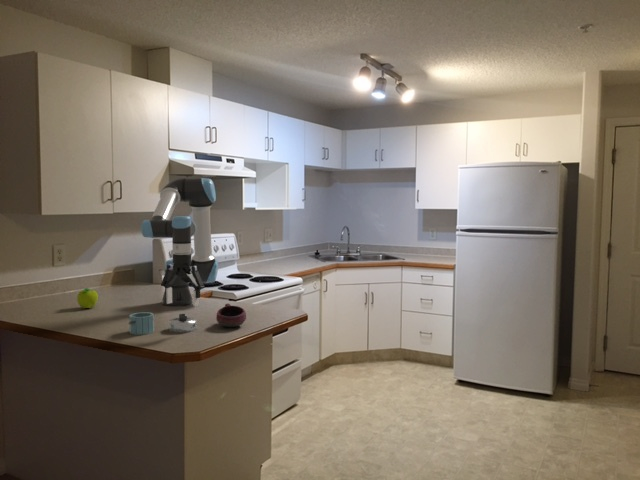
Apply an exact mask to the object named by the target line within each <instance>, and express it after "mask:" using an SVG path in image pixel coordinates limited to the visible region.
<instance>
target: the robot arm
mask: <svg viewBox="0 0 640 480" xmlns="http://www.w3.org/2000/svg"><path fill="white" fill-rule="evenodd" d="M214 183H215V182H214V181H213V180H212V179H211V178H205V177H188V178H183V177H180V178H177V179H174V180H171V181H169V182H168V183H167V184H166V185H165V186H163V188H162V189H161V191H160V194H159V201H158V203H157V205H156V207H155V209H154V212H153V214H152V217H151V218H150V219H144V220H143V221H141V222H142V223H141V226H140V228H141V229H140V230H141V234H142V237H143V238H152V239H153V238H154V239H155V238H160V239H161V238H162V239H163V238H170V239H171V238H172V240H171V241H172V245H171V246H172V253H173V254H172V258H171V259H167V260H166V261H165V263H164V275H163V278H162V281H161V283H160V286H161V287H164V288H165V289H164V292H163V297H162V299H161V304H162V305H164V306H170V307H177V306H179V307H180V306H187V305H191V304H192V305H193V307H197V306H200V298H201V290H204V289H205V285H204V284H210V283H211V284H212V283H215V282H216V281H217V276H218V271H219V260H217V259H216V257H215V255H214V254H213V253H212V252H213V251H212V250H213V249H212V230H211V227H212V226H211V224H212V223H211V208H212V207H213V205H214V203H215V202H216V200H217V196H216V194H217V193H216V188H215V184H214ZM183 202H184V203H188V207H190V208H191V209H192V210H191V211H192V218H191V217H190V216H188V215H187V216H186V215H184V216H183V215H180V216H177V215H176V216H172V215H173V212H174V210H175V209H176V205H178V204H179V203H183ZM171 217H172V219H171ZM191 219H192V220H191ZM192 237H193V246H194V249H193V250H194V255H193V256H192V254H191V253H192ZM190 284H191V286H192V287H193V289H194V290H193V291H192V293H193V297H192V293H191V290H190V286H189V285H190Z"/></svg>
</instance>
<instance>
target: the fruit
mask: <svg viewBox="0 0 640 480" xmlns="http://www.w3.org/2000/svg"><path fill="white" fill-rule="evenodd" d="M98 299H99V294H98V293H97V291H96V290H91V289H90V288H89V287H88V288H87V287H86V288H83V289H82V290H80V291H79V292H78V295H77V299H76V300H77V304H78V305H79V306H80V307H81V308H82V309H85V308H89V309H93V308H94V307H95V306H96V304H97V302H98Z"/></svg>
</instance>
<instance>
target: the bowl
mask: <svg viewBox="0 0 640 480" xmlns="http://www.w3.org/2000/svg"><path fill="white" fill-rule="evenodd" d="M215 319H216V321H217V323H218V324H219V325H220V326H223V327H225V328H236V327H239V326H241V325H243V324H244V323H245V322H246V320H247V312H246V310H245V309H244V308H243V307H241V306H237V305H231V304H230V303H225V305H224V306H223V307H221V308H219V309H218V310H217V312H216V318H215Z"/></svg>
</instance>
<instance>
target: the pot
mask: <svg viewBox="0 0 640 480" xmlns="http://www.w3.org/2000/svg"><path fill="white" fill-rule="evenodd" d="M128 316H129V317H128V318H129V320H128V325H129V334H131V335H135V336H139V335H150V334H152V333H154V332H155V314H154V312H149V311H148V312H145V311H144V312H136V313H131V314H130V315H128Z"/></svg>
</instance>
